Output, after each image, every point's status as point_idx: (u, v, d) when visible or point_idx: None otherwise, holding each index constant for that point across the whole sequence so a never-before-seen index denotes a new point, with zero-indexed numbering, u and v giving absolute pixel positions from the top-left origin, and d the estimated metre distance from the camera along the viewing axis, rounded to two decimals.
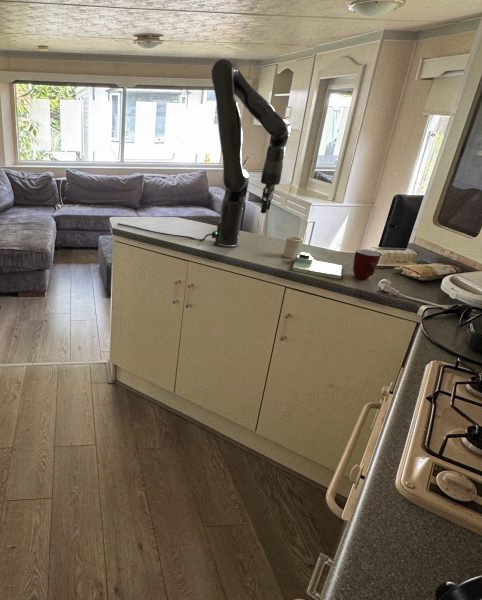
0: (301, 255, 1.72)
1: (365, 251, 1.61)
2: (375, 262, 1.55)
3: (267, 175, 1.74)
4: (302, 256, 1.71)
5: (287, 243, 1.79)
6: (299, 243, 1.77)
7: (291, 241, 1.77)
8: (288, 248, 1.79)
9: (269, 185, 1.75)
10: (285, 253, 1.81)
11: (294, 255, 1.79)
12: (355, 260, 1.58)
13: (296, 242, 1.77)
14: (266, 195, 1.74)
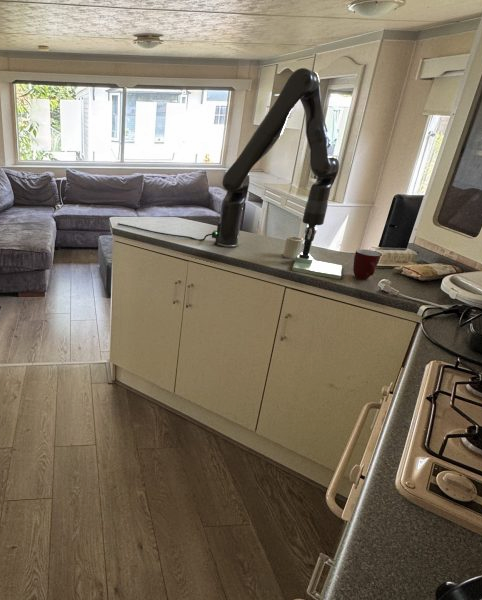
0: (300, 255, 1.72)
1: (365, 251, 1.61)
2: (375, 262, 1.55)
3: (311, 215, 1.63)
4: (302, 256, 1.71)
5: (287, 243, 1.79)
6: (299, 243, 1.77)
7: (291, 241, 1.77)
8: (288, 248, 1.79)
9: (312, 226, 1.64)
10: (285, 253, 1.81)
11: (294, 255, 1.79)
12: (355, 260, 1.58)
13: (296, 242, 1.77)
14: (309, 240, 1.65)
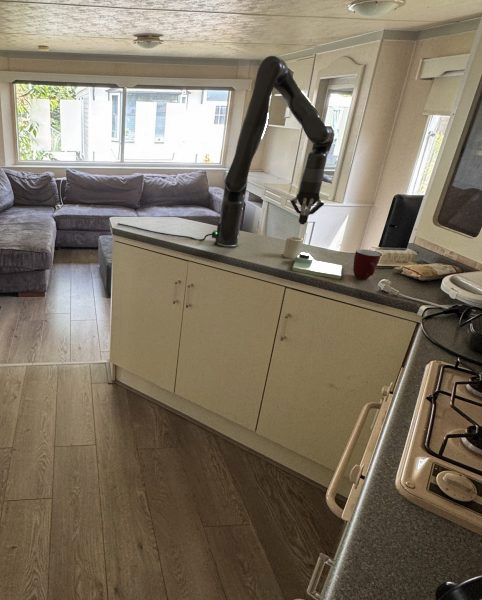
0: (301, 255, 1.72)
1: (365, 251, 1.61)
2: (375, 262, 1.55)
3: None
4: (302, 256, 1.71)
5: (287, 243, 1.79)
6: (299, 243, 1.77)
7: (291, 241, 1.77)
8: (288, 248, 1.79)
9: (299, 192, 1.69)
10: (285, 253, 1.81)
11: (294, 255, 1.79)
12: (355, 260, 1.58)
13: (296, 242, 1.77)
14: (293, 206, 1.71)
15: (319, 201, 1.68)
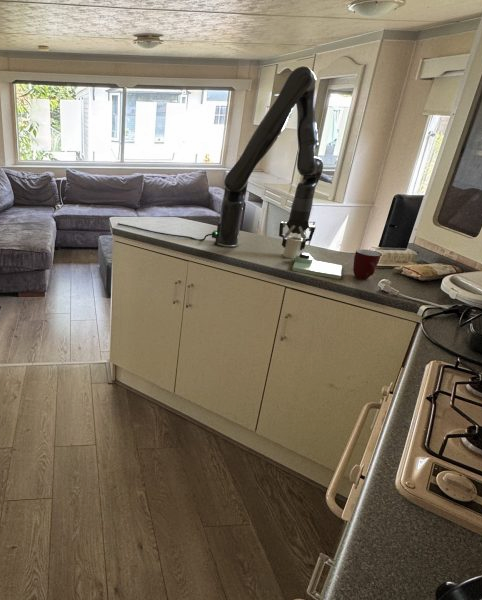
0: (301, 255, 1.72)
1: (365, 251, 1.61)
2: (375, 262, 1.55)
3: None
4: (302, 256, 1.71)
5: (287, 243, 1.79)
6: (299, 243, 1.77)
7: (291, 241, 1.77)
8: (288, 248, 1.79)
9: None
10: (285, 253, 1.81)
11: (294, 255, 1.79)
12: (355, 260, 1.58)
13: (296, 242, 1.77)
14: None
15: (310, 227, 1.75)
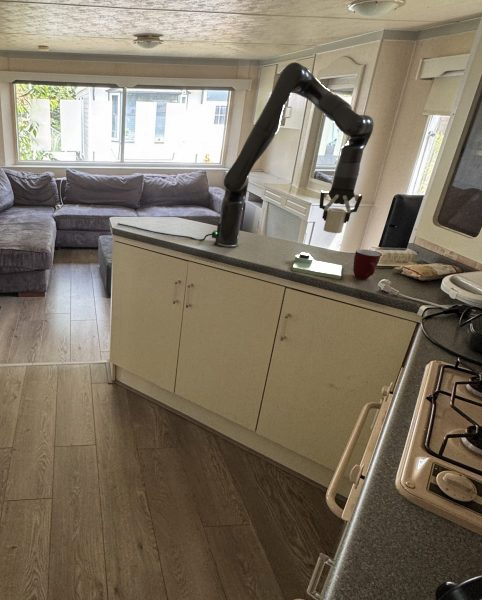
0: (301, 255, 1.72)
1: (365, 251, 1.61)
2: (375, 262, 1.55)
3: None
4: (302, 256, 1.71)
5: (329, 215, 1.59)
6: (343, 215, 1.56)
7: (334, 213, 1.57)
8: (330, 221, 1.58)
9: (331, 188, 1.57)
10: (326, 227, 1.60)
11: (337, 229, 1.58)
12: (355, 260, 1.58)
13: (340, 213, 1.56)
14: (320, 199, 1.60)
15: (356, 196, 1.54)
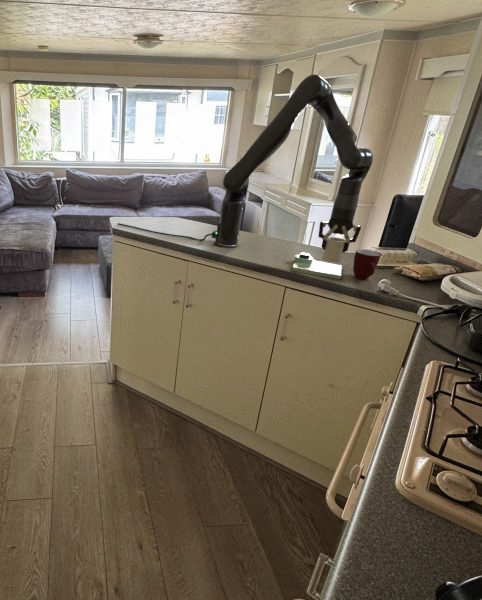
0: (301, 255, 1.72)
1: (365, 251, 1.61)
2: (375, 262, 1.55)
3: None
4: (302, 256, 1.71)
5: (328, 245, 1.60)
6: (342, 245, 1.58)
7: (333, 242, 1.59)
8: (329, 250, 1.60)
9: (330, 218, 1.58)
10: (325, 256, 1.62)
11: (336, 258, 1.60)
12: (355, 260, 1.58)
13: (339, 243, 1.58)
14: (319, 228, 1.61)
15: (355, 227, 1.56)
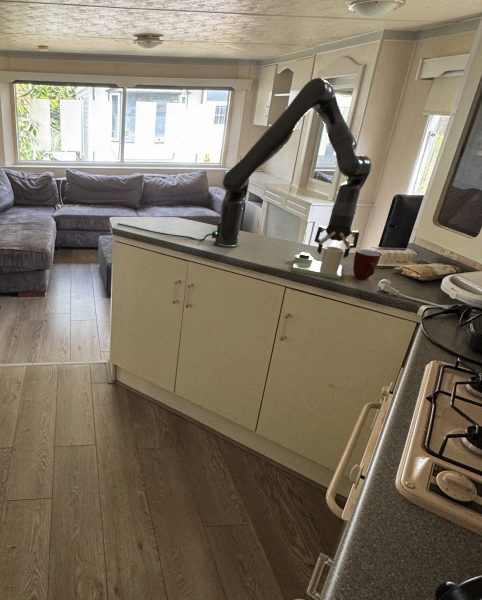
0: (301, 255, 1.72)
1: (365, 251, 1.61)
2: (375, 262, 1.55)
3: None
4: (302, 256, 1.71)
5: (326, 254, 1.62)
6: (339, 254, 1.60)
7: (330, 252, 1.60)
8: (327, 260, 1.62)
9: (328, 225, 1.59)
10: (323, 265, 1.64)
11: (333, 267, 1.62)
12: (355, 260, 1.58)
13: (337, 253, 1.59)
14: None
15: (353, 233, 1.57)
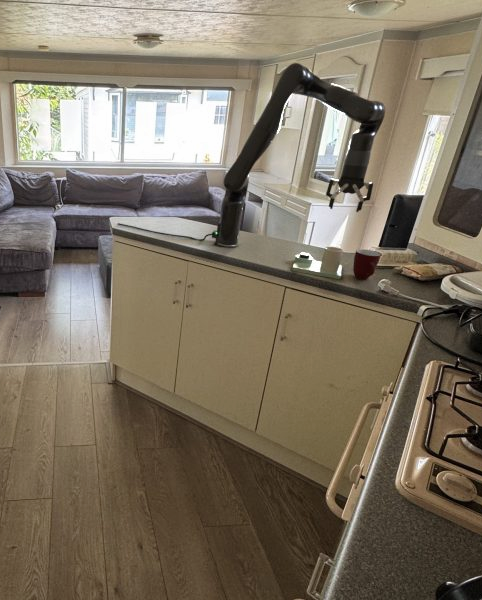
0: (301, 255, 1.72)
1: (365, 251, 1.61)
2: (375, 262, 1.55)
3: None
4: (302, 256, 1.71)
5: (326, 254, 1.62)
6: (339, 254, 1.60)
7: (330, 252, 1.60)
8: (327, 260, 1.62)
9: (340, 177, 1.52)
10: (323, 265, 1.64)
11: (333, 267, 1.62)
12: (355, 260, 1.58)
13: (337, 253, 1.59)
14: (328, 186, 1.55)
15: (366, 184, 1.50)
